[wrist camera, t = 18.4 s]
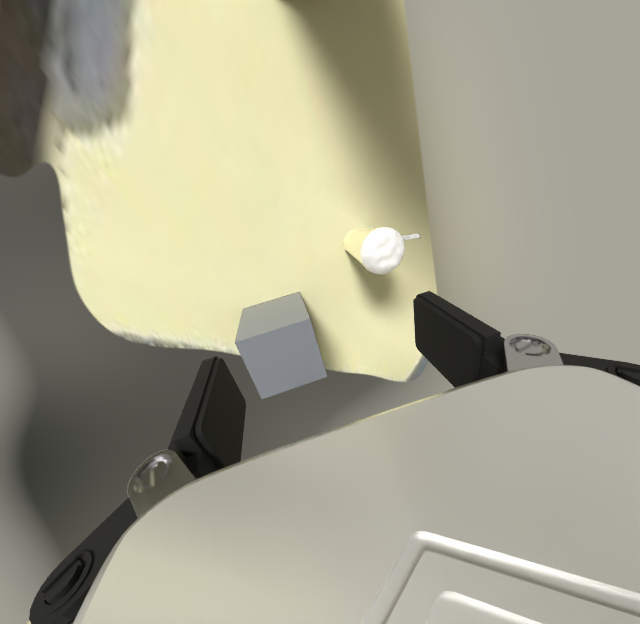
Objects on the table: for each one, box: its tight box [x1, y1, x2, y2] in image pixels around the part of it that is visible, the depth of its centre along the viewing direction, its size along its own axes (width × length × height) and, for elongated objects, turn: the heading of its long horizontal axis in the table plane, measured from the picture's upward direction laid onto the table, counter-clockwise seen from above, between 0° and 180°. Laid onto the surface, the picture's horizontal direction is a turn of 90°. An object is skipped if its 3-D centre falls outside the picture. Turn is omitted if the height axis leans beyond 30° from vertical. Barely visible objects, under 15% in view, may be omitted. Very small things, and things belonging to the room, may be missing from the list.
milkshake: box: [344, 227, 421, 275], centre depth 26 cm, size 5×5×10 cm
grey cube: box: [235, 292, 327, 399], centre depth 29 cm, size 8×8×9 cm
